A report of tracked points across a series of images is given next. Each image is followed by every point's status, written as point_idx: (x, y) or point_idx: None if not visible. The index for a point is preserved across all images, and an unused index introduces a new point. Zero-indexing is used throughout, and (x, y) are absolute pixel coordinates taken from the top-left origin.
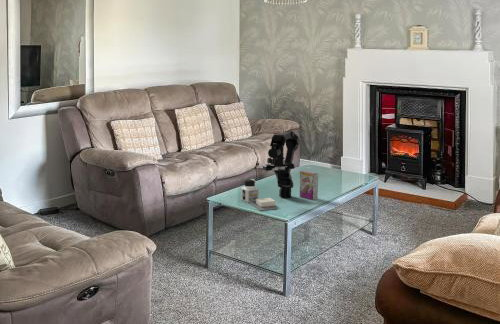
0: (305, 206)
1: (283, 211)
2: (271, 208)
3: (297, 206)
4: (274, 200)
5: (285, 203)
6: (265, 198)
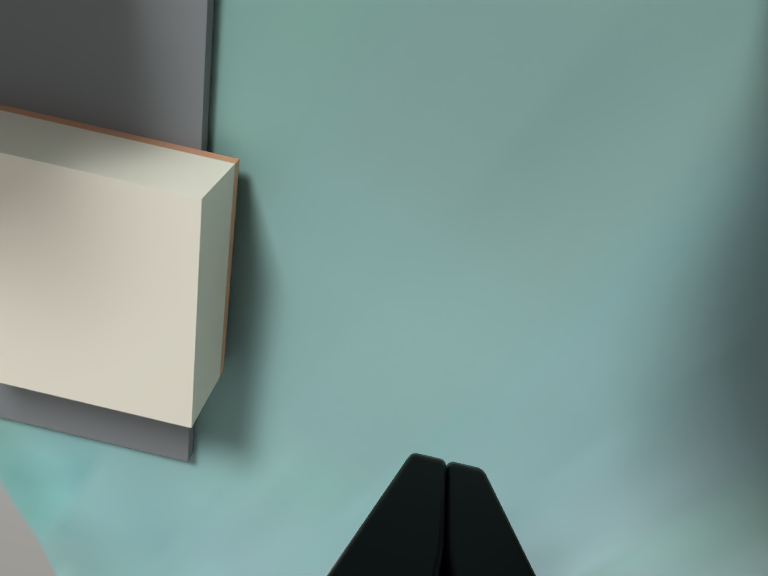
0: (629, 568)
1: (223, 550)
2: (110, 429)
3: (533, 515)
4: (191, 398)
5: (496, 313)
6: (81, 195)
